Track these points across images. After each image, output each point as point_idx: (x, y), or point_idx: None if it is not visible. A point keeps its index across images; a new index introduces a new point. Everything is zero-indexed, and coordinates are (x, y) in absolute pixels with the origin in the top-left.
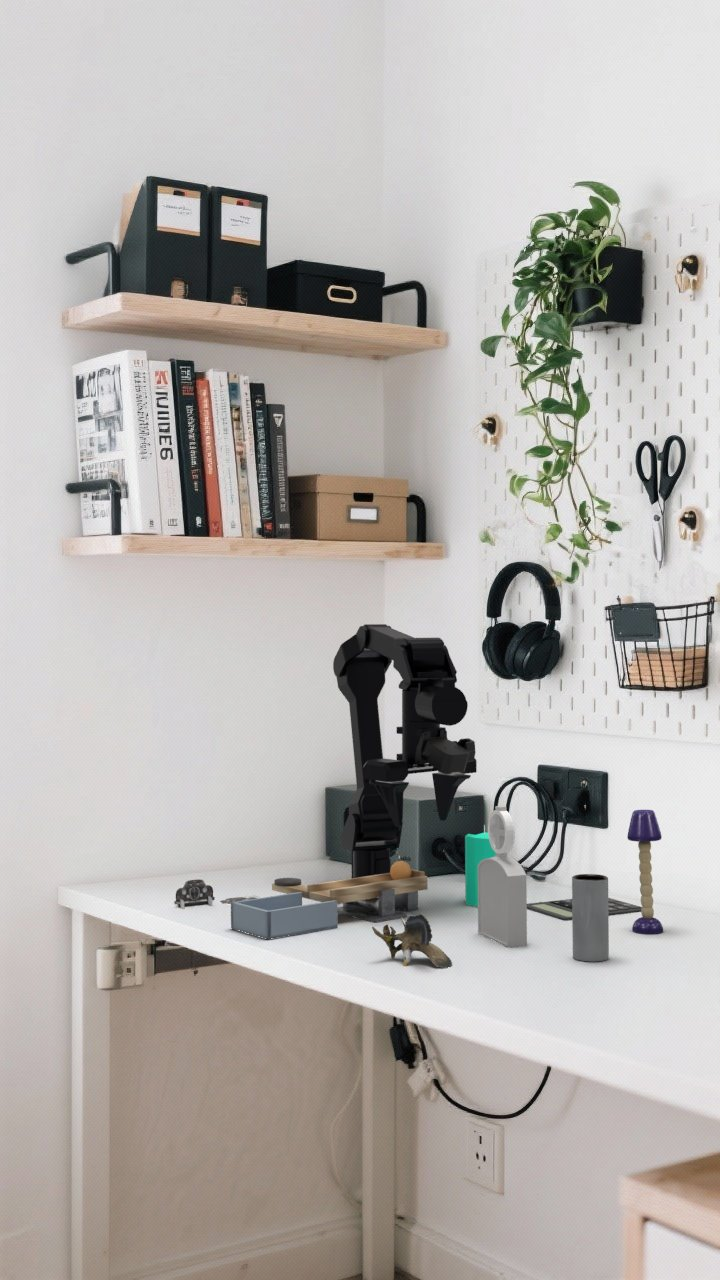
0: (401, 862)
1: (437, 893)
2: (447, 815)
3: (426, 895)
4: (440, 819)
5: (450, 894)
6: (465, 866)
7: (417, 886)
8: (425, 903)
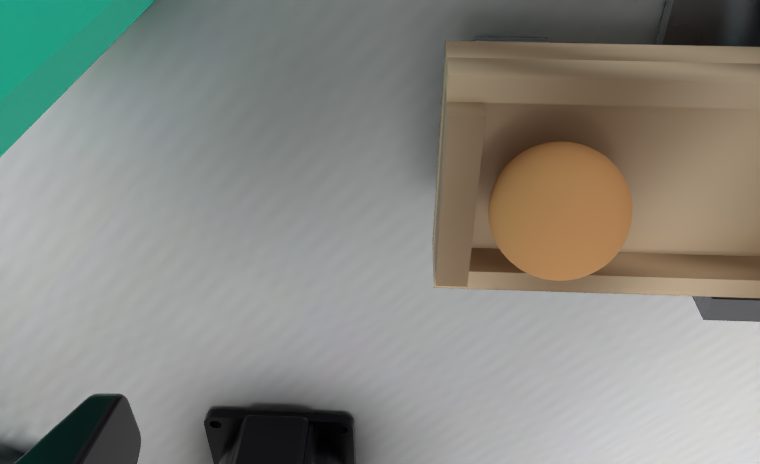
0: (589, 231)
1: (150, 242)
2: (56, 430)
3: (218, 242)
4: (136, 438)
5: (110, 195)
6: (74, 77)
7: (535, 52)
8: (338, 122)
